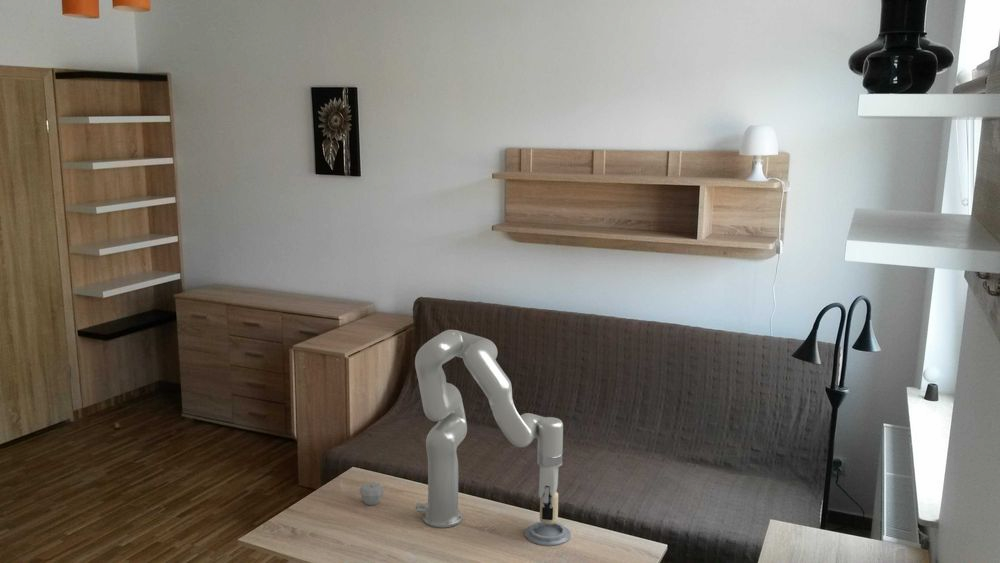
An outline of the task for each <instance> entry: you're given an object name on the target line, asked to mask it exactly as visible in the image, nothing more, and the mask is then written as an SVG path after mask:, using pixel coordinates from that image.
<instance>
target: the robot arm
mask: <svg viewBox="0 0 1000 563" xmlns="http://www.w3.org/2000/svg"><path fill="white" fill-rule="evenodd" d="M498 352H499V351H498V348H497V346H496V344H495V343H494V342H493V341H492V340H491V339H488V338H486V337H482V336H479V335H475V334H473V333H468V332H465V331H461V330H456V329H447V330H444V331H441V333H438V335H435V336H434V337H432V338H431V339H430V340H427V342H425V343H424V344H423V345H422V346H421V347H420V348H419V349H418V351H417V352H416V355H415V359H414V367H415V371H416V376H417V380H418V387H419V392H420V397H421V404H422V407H423V413H424V414H425V416H426V418H427V419H429V420H430V421H431V422H437V423H436V424H435V425H434V426H433V427H432V428H431V429H430V430H429V432H428V434H427V435H426V439H425V447H426V448H425V449H426V454H427V497H428V499H427V502H425V503H421V502H416V503H415V506H414V508H415V510H416V512H417V513H423V516H422V520H423V522H424V523H425V524H426V525H427V526H430V527H434V528H442V529H444V528H452V527H455V526H457V525H460V524H461V522H462V521H463V519H464V518H463V517H464V515H463V513H462V512H461V510H459V459H458V455H457V449H458V446H460V444H461V443H462V442H463V441H464V439H465V438H466V436H467V433H468V424H467V418H466V413H465V407H464V403H463V399H462V398H463V397H462V394H461V392H460V390H459V389H458V387H456V386H455V385H454V384H452V383H449V382H447V378H446V374H445V371H444V369H443V368H442V367H443V365H444V364H446V363H447V362H449V361H451V360H452V359H453V358H455V357H457V358H460V359H462V361H463V363H464V365H465V367H466V369H467V370H468V372H469V373H470V374H471V376H472V378H473V379H474V380H475V381H476V383H477V384H478V386H479V387H480V388H481V390H482V391H483V394H484V395H485V396H486V397H487V400H488V403H489V405H490V409H491V411H492V415H493V417H494V420H495V422H496V424H497V425H498V427H499V428H500V430H501V431H502V433H503V435H504V436H505V437H506V439H507V440H508V441H509V442H510V443H511V444H512V445H514V446H515V447H517V448H525V447H528V446H529V445H530V444H532V442H533V440H534V439H537V466H539V480H538V493H537V494H538V496H537V497H538V498H539V499H540V498H542V496H543V506H542V519H545V520H552V519H553V507H552V499H553V498H554V497H555V494H556V492H557V490H558V486H559V467H561V466H563V451H564V450H563V446H564V445H563V444H564V443H563V442H564V423H563V421H562V420H561V419H560V418H558V417H553V416H546V417H545V416H542V415H538V414H535V413H530V412H528V413H527V412H525V413H522V414H521V415H520V414H519V411H517V408H516V406H515V404H514V399H513V388H512V382H511V380H510V379H509V377H508V375H507V374H506V372H504V370H503V369H502V367H501V366H500V364H499V363H498V361H497V360H496V359H497V357H498ZM549 495H551V497H549ZM549 500H550V502H549Z"/></svg>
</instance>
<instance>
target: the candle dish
mask: <svg viewBox="0 0 1000 563" xmlns="http://www.w3.org/2000/svg"><path fill="white" fill-rule="evenodd" d="M524 536H525V538H526V539H527V540H528V541H529V542H531V543H532V544H535V545H539V546H545V547H555V546H560V545H563V544H565V543H567V542H569V541H570V540H571V530H569V528H567V527H566V526H564V525H563V524H561V523H559V522H558V521H557V522H556V523H554V524H545V523H542V522H541V521H536V522H534V523H533V524H530V525H529V526H527V527H526V528H525V531H524Z"/></svg>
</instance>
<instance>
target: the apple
mask: <svg viewBox="0 0 1000 563" xmlns="http://www.w3.org/2000/svg"><path fill="white" fill-rule="evenodd" d="M359 493H360V497H361V499H362V501H363V503H364V504H365V505H367V506H374V505H377V504H378V503H380V501H381V499H382V497H383V494H384V489H383V487H382V485H381V483H379V482H375V481H374V482H372V481H371V482H365V483H364V484H362V485H361V486H360V488H359Z"/></svg>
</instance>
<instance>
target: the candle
mask: <svg viewBox="0 0 1000 563" xmlns="http://www.w3.org/2000/svg"><path fill="white" fill-rule="evenodd" d="M549 497H551V495H549ZM549 502H550V500H549ZM542 506H543V496H542V498H539V522H542V523H545V524H554V523H556V522H557V523H558V521H559V517H558V516H559V492H557V491H556V494H555V497H554V498H553V499H552V507H553V519H552V520H545V519H542Z"/></svg>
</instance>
